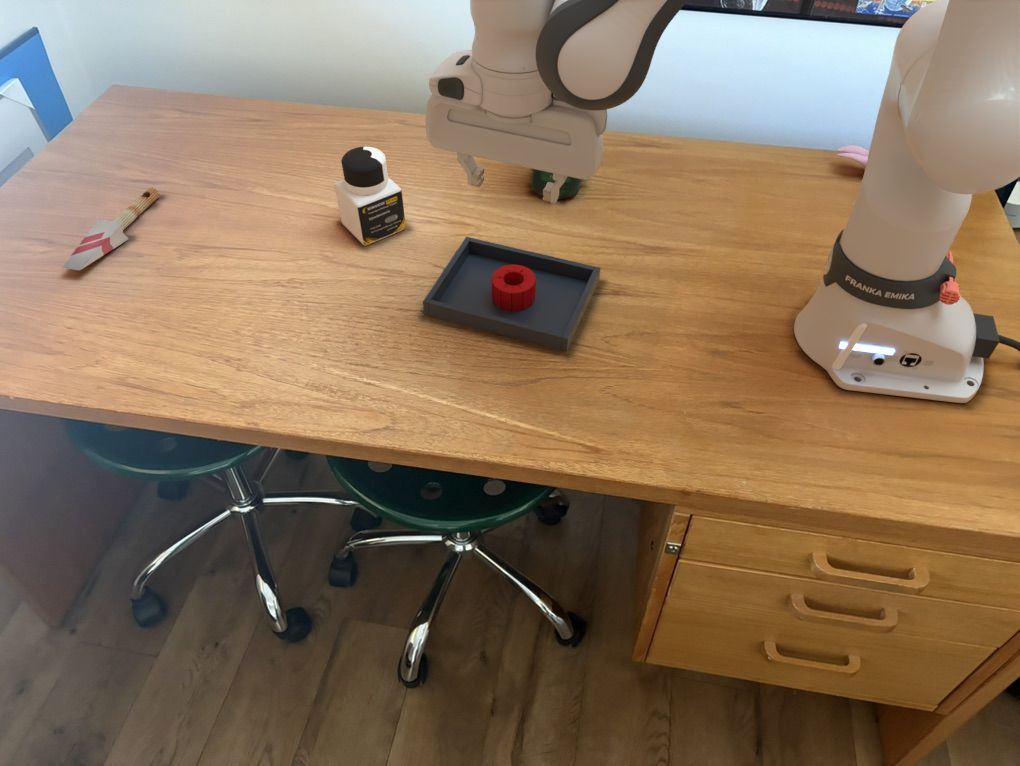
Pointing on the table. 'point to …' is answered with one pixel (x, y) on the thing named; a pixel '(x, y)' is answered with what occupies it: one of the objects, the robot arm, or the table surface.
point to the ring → (513, 287)
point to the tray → (544, 322)
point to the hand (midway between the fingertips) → (512, 191)
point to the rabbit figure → (855, 154)
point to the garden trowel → (108, 233)
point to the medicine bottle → (369, 196)
